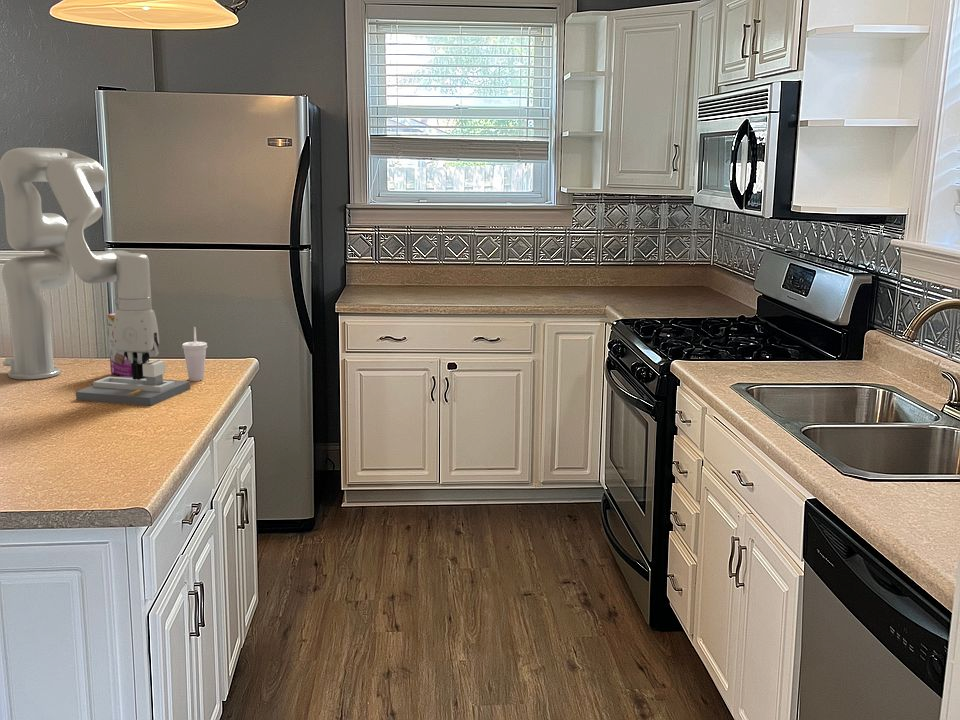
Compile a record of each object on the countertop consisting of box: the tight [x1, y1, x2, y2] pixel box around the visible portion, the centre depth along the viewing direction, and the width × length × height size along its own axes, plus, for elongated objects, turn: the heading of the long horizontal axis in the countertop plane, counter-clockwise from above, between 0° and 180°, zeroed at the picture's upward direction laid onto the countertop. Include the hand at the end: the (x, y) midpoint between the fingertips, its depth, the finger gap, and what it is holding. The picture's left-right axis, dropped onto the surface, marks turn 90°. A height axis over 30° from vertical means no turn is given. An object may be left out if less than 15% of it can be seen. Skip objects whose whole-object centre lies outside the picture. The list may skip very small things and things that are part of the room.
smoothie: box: [181, 326, 208, 382], centre depth 252 cm, size 6×6×14 cm
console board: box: [75, 375, 191, 407], centre depth 236 cm, size 20×18×3 cm
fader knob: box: [142, 359, 166, 386], centre depth 234 cm, size 3×5×6 cm, turn 167°
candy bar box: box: [106, 312, 150, 378], centre depth 255 cm, size 11×5×16 cm, turn 54°
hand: (139, 378), depth 235 cm, fingers closed
